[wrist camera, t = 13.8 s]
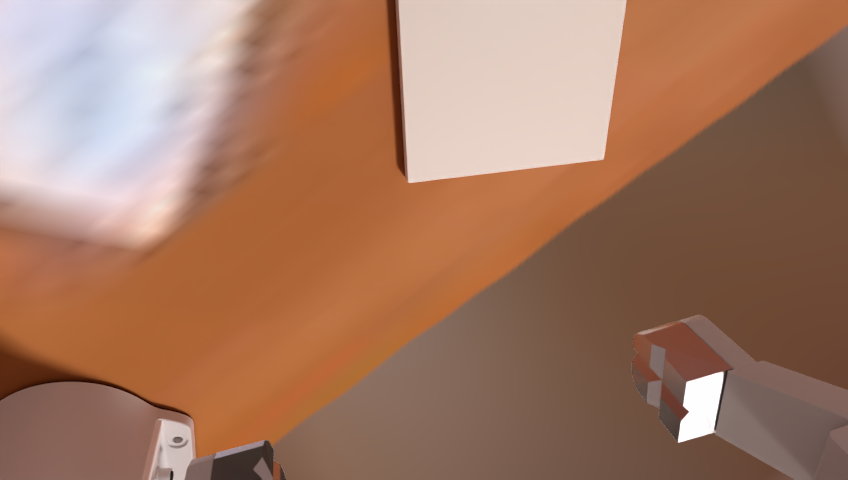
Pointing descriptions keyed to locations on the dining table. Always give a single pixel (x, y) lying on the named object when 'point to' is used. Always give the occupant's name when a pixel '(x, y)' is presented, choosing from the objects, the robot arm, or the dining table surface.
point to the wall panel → (505, 83)
